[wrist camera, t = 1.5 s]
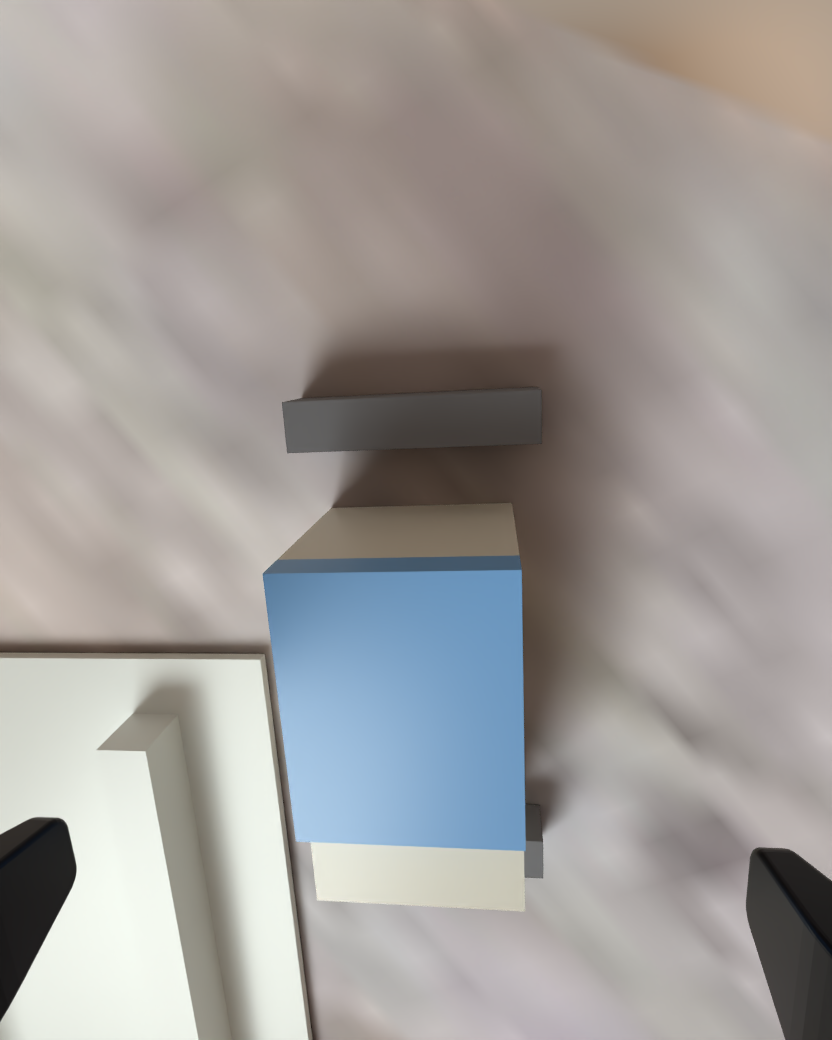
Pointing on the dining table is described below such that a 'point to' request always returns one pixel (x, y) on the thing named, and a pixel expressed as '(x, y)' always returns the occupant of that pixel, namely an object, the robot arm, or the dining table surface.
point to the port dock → (155, 847)
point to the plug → (405, 703)
